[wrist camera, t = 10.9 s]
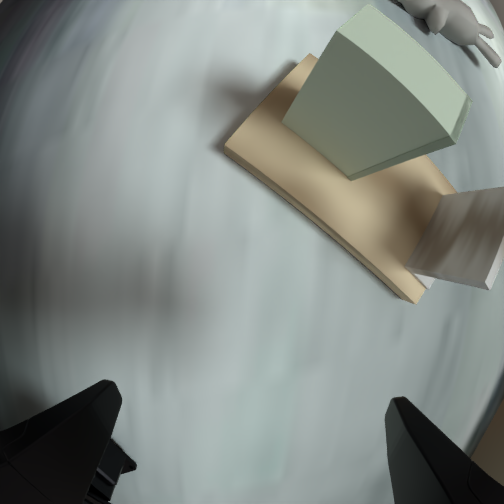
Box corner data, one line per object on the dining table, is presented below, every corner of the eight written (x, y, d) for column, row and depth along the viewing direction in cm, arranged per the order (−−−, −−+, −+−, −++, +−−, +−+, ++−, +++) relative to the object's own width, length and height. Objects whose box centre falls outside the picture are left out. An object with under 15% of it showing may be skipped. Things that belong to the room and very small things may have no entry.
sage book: (351, 181, 18) (456, 144, 8) (280, 122, 17) (335, 31, 8) (372, 149, 18) (472, 101, 8) (306, 94, 18) (369, 3, 8)
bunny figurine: (402, -38, 16) (497, 20, 16) (390, -15, 21) (480, 35, 21) (409, -3, 16) (513, 66, 16) (392, 23, 21) (490, 81, 21)
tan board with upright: (402, 299, 21) (490, 332, 11) (223, 153, 19) (228, 82, 9) (452, 207, 22) (537, 200, 12) (302, 65, 19) (348, -16, 9)
